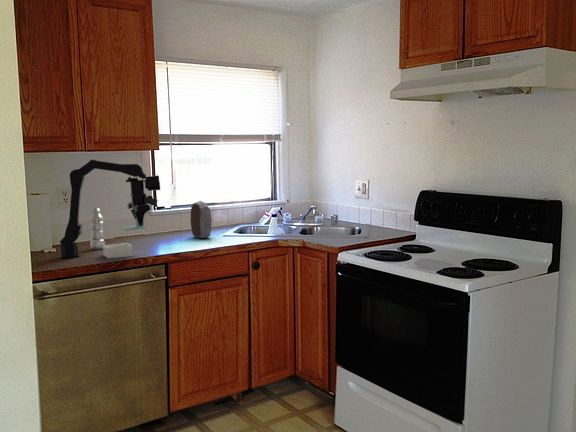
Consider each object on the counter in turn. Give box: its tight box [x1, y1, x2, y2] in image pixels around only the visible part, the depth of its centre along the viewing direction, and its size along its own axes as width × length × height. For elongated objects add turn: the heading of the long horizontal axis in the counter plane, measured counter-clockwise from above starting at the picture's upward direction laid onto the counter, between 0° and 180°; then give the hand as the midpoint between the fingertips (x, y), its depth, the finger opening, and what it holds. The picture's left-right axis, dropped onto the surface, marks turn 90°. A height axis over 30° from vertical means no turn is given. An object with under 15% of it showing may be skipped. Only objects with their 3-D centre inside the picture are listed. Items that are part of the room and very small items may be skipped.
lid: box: [121, 218, 147, 232], centre depth 254 cm, size 9×7×4 cm
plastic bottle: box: [88, 207, 106, 250], centre depth 268 cm, size 6×7×20 cm
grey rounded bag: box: [190, 200, 213, 239], centre depth 298 cm, size 15×8×20 cm, turn 37°
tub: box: [102, 242, 134, 260], centre depth 252 cm, size 11×9×5 cm
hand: (140, 225), depth 255 cm, fingers closed on lid, 3 cm apart
